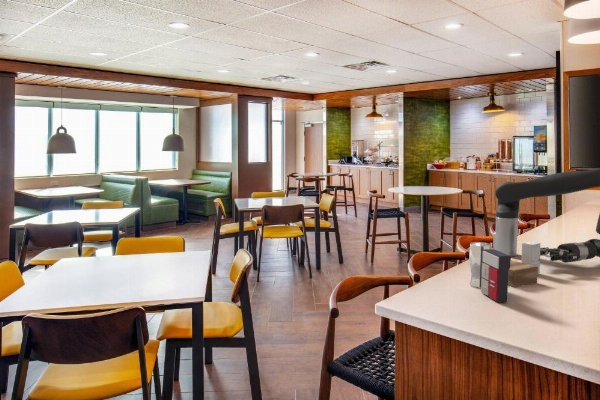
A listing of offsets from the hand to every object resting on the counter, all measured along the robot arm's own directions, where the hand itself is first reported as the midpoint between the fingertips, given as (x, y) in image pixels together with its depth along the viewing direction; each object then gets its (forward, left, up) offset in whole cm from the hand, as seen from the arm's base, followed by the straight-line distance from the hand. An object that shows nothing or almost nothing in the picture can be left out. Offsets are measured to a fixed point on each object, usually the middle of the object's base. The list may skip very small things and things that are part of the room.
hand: (541, 255), depth 180 cm
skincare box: (-1, -6, -7) cm, 9 cm away
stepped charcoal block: (+14, -42, -7) cm, 45 cm away
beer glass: (+2, -36, -7) cm, 36 cm away
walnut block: (+3, -21, -7) cm, 22 cm away
